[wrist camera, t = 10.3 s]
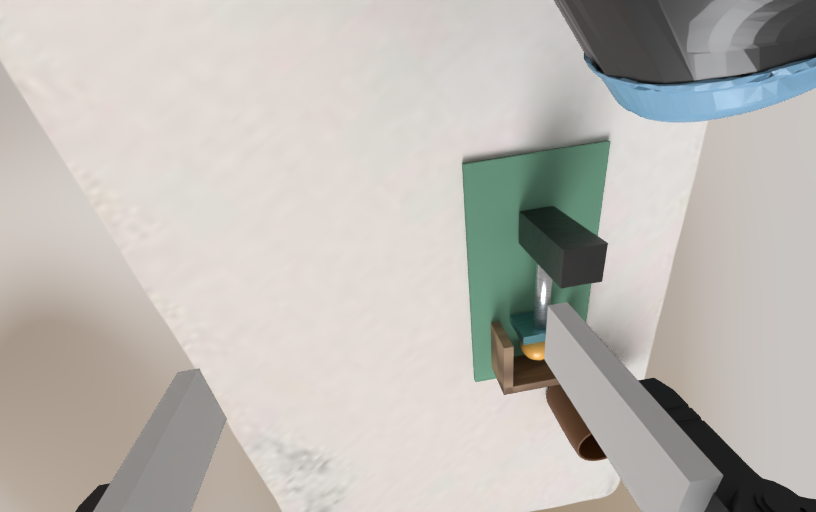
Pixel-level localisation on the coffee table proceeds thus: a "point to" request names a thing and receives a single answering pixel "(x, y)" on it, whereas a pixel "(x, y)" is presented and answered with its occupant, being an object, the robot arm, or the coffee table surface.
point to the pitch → (499, 233)
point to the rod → (555, 262)
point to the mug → (573, 425)
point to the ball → (534, 350)
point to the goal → (516, 365)
